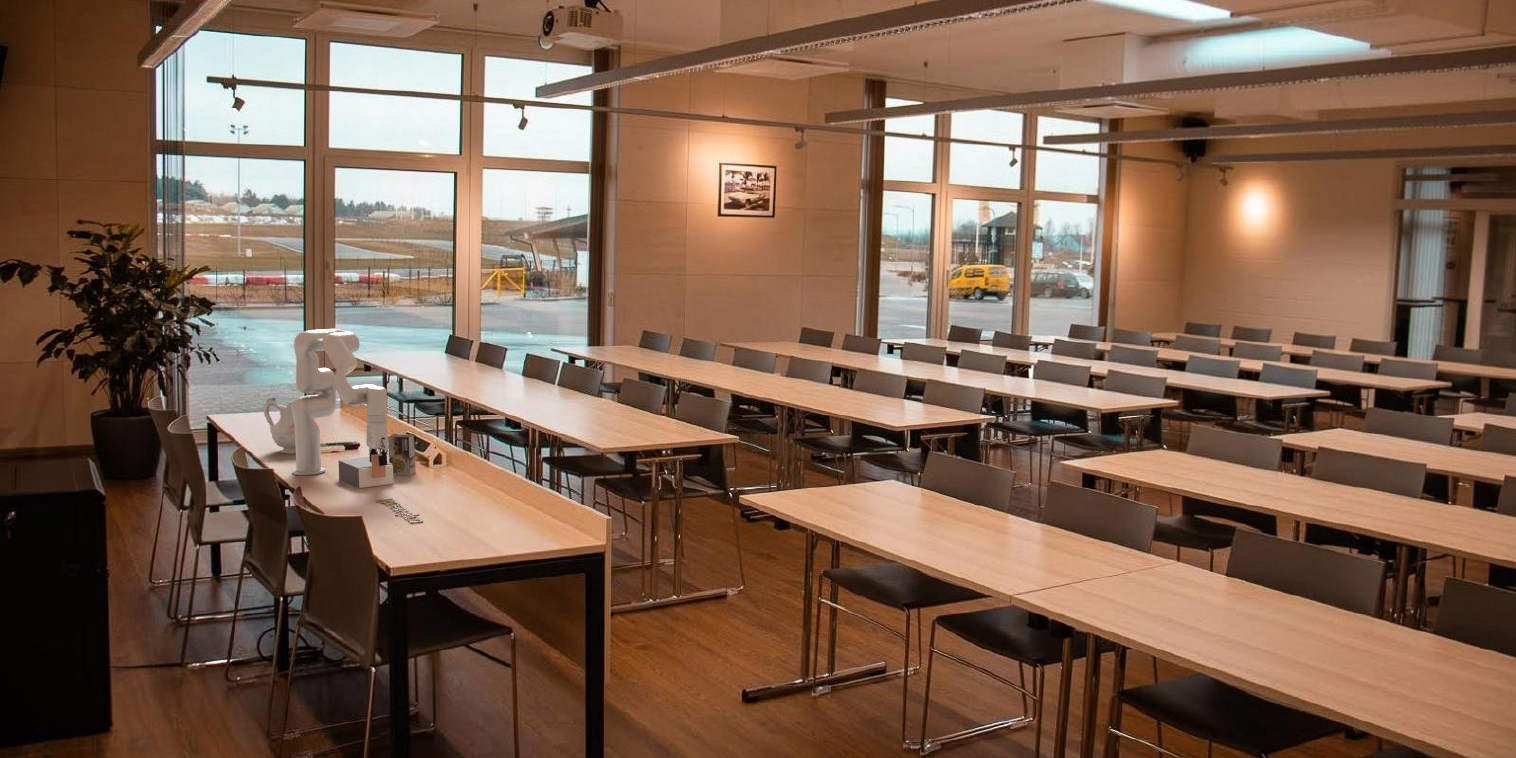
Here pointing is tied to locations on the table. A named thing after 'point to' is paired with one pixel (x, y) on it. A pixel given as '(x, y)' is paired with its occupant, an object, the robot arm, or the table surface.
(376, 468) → the box with pink tab
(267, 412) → the ceramic pitcher
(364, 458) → the low grey box
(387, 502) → the text sign
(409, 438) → the coffee box
